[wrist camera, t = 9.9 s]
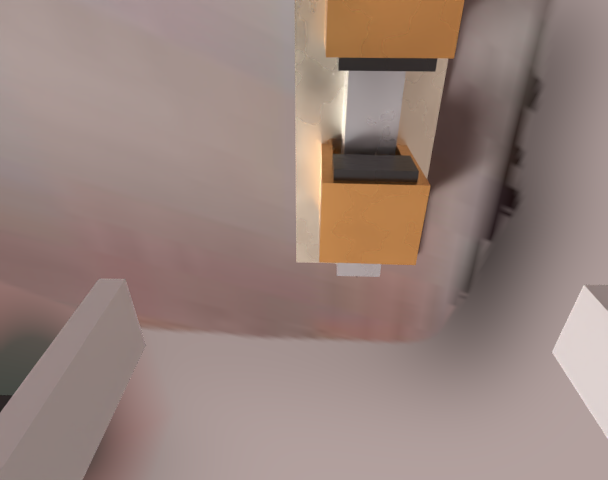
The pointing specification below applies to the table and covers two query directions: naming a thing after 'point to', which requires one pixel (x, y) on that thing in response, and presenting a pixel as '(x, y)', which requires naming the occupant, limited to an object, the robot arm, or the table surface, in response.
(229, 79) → the table surface
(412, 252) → the orange cube
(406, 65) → the rail
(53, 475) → the robot arm
